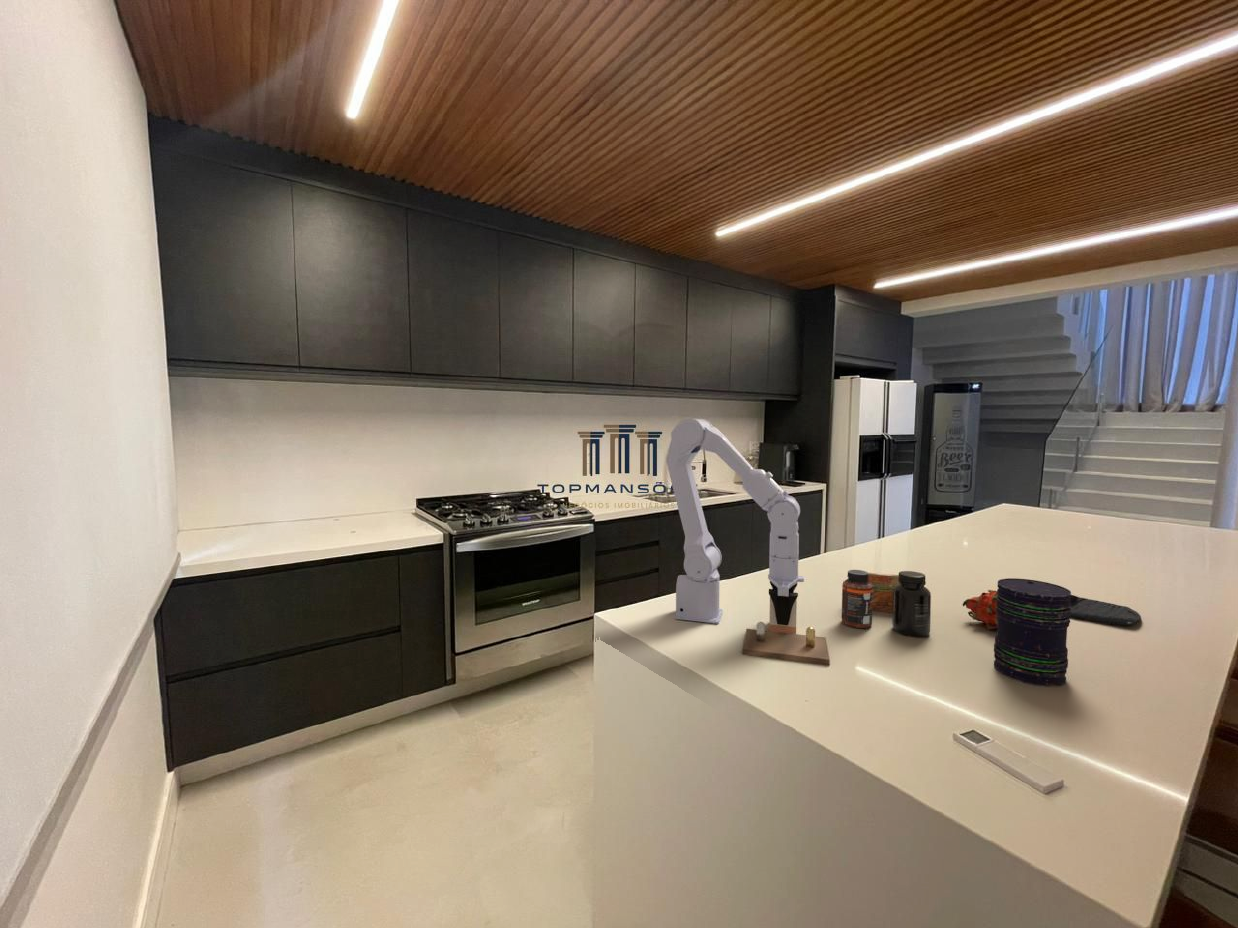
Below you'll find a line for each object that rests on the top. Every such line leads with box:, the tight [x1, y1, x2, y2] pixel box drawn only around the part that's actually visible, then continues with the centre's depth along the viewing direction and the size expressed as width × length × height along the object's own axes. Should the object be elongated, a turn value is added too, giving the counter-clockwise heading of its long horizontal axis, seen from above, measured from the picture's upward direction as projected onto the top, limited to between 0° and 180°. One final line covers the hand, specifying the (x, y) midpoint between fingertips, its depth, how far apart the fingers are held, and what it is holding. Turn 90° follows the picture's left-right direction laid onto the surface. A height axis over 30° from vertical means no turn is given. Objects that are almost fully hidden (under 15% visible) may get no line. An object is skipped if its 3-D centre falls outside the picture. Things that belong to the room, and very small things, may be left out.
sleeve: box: [768, 596, 798, 634], centre depth 107 cm, size 5×5×7 cm
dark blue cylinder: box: [993, 577, 1072, 688], centre depth 87 cm, size 10×10×15 cm
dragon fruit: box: [962, 589, 998, 631], centre depth 106 cm, size 8×8×12 cm
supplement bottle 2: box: [891, 570, 932, 638], centre depth 105 cm, size 7×7×12 cm
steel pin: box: [756, 621, 766, 642], centre depth 99 cm, size 2×2×4 cm
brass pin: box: [805, 626, 816, 648], centre depth 96 cm, size 2×2×4 cm
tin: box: [868, 572, 899, 614], centre depth 117 cm, size 15×3×8 cm, turn 68°
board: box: [742, 628, 831, 666], centre depth 98 cm, size 15×10×1 cm, turn 72°
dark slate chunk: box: [1069, 594, 1142, 626], centre depth 116 cm, size 15×22×5 cm
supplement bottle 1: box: [841, 569, 874, 629], centre depth 109 cm, size 6×6×11 cm
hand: (782, 619), depth 107 cm, fingers closed on sleeve, 5 cm apart
